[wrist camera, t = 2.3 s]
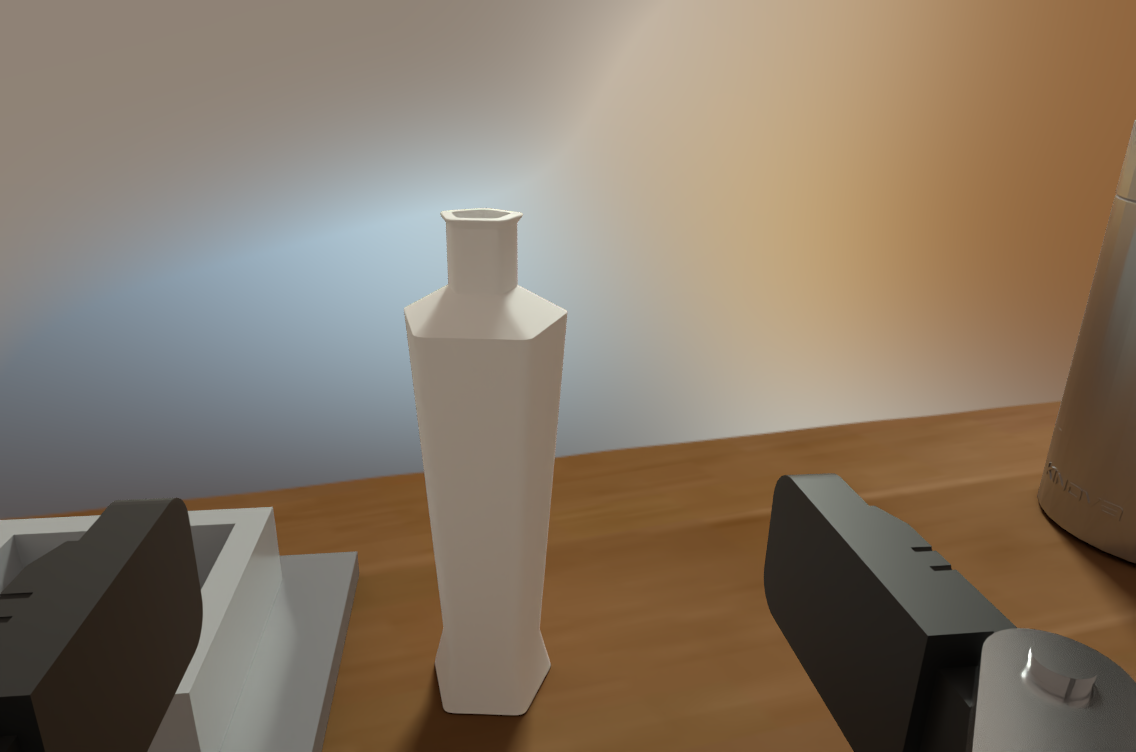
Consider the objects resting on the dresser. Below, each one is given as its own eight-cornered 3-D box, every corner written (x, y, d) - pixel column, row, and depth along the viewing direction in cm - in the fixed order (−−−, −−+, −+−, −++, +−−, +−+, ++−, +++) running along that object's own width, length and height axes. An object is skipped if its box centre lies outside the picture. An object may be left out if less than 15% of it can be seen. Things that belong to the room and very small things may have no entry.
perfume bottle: (563, 629, 27) (570, 203, 22) (558, 724, 23) (566, 228, 18) (435, 625, 28) (412, 199, 22) (407, 719, 23) (372, 224, 18)
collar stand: (359, 573, 30) (351, 483, 29) (299, 855, 19) (281, 731, 18) (-27, 596, 29) (-56, 501, 27) (-337, 921, 18) (-414, 789, 16)
